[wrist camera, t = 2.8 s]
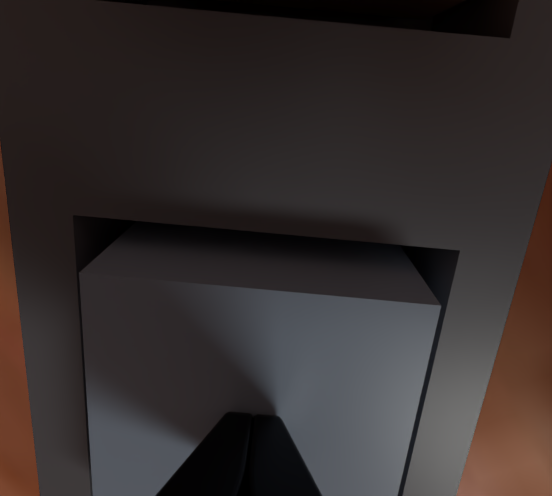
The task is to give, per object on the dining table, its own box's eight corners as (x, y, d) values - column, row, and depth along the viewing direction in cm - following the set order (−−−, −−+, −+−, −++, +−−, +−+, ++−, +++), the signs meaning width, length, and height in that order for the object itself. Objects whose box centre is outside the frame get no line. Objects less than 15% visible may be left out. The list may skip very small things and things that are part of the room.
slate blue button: (382, 221, 10) (440, 306, 6) (351, 405, 12) (381, 563, 8) (160, 200, 10) (79, 272, 6) (159, 387, 12) (95, 537, 8)
